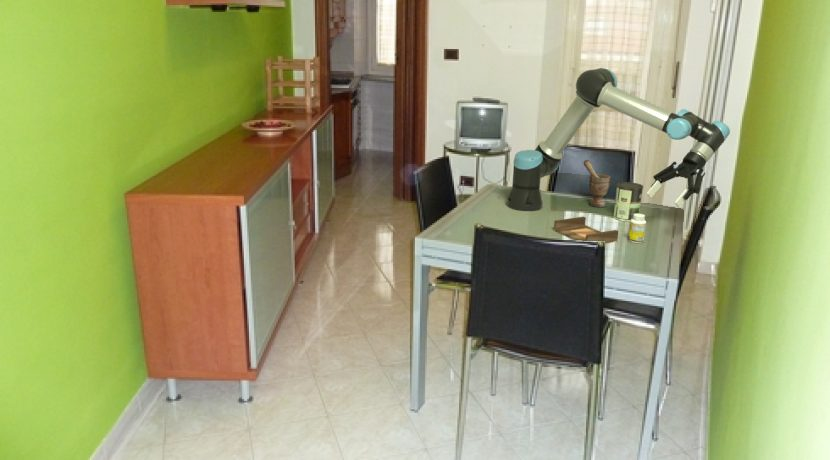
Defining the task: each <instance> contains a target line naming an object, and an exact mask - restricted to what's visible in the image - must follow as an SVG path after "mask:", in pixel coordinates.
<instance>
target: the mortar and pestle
mask: <svg viewBox="0 0 830 460" xmlns="http://www.w3.org/2000/svg"><path fill="white" fill-rule="evenodd" d="M583 166H584V167H585V168H586V170H587V171H588V173H589V180H588V181H589V182H588V183H589V185H588V186H589V187H588V188H589V192H590V194H591V195H592V198H591V199H590V200H589V201H588V205H589V206H591V207H594V208H595V207H596V208H597V207H598V208H604V207H607V202H606V200H605V199H604V197H605V196H606V195H607V193H608V190H609V187H610V185H611V183H610V182H611V176H610V175H608V174H601V173H596V171H595V169H594V166H593V165H592V163H591V161H590V160H589V159H586V160H584V161H583Z"/></svg>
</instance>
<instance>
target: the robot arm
mask: <svg viewBox="0 0 830 460" xmlns="http://www.w3.org/2000/svg"><path fill="white" fill-rule="evenodd" d="M576 79H577V80H576V82H575V89H576V90H575V94H576V97H575V99H573V101H572V103H571V104H570V106H569V107H568V109H567V110H566V111H565V113H564V114H563V115H562V117H561V118H560V120H558V123H557V124H556V125H555V127H554V129H553V130H552V131H551V133H550V134H549V135H548V136H547V138H546V139H545V140H543V141H540V142H539V143H538V145H537V146H536V148H535V149H525V150H524V149H523V150H520V151H518V152H516V153H515V155H514V159H513V170H512V171H513V172H512V173H513V174H512V186H511V190H510V191H509V194H508V197H507V200H506V206H507V207H509V208H511V209H514V210H518V211H525V212H527V211H530V212H531V211H538V210H539V211H540V210H541V209H542V208H543V202H544V201H543V198H542V194H541V189H540V187H541V180H542V179H541V178H544V177H547V176H550V175H552V174H553V173H555V172H556V171H557V169H558V168H559V167H560V161H561V160H562V158H563V153H562V152H563V151H564V150H565V149H566V147H567V146H568V144H569V143H570V142H571V141H572V139H573V138H574V136H575V135H576V134H577V132H578V130H579V129H580V128H581V127H582V125H583V124H584V123H585V121H586V120H587V119H588V117H589V116H590V115H591V113H592V112H593V111H594V109H597V108H600V107H601V106H602V105H603V106H606V107H608V108H610V109H613V110H615V111H617V112H619V113H621V114H624V115H626V116H628V117H629V118H632V119H635V120H637V121H638V122H641V123H644V124H645V125H648V126H650V127H652V128H654V129H657V131H658V130H659V131H661V132H663V133H664V134H667V135H668V137H669V138H670V139H672V140H675V141H676V140H683V139H686V138H688V137H691V138H692V139H695V140H696V142H695V144H694V145H693V146H692V147H691V149H689V151H688V152H687V154H686V155H685V156H684V157H683V158H682V162H681V163H677V161H673V162H672V163H671V164H670V165H669V166H667V167H665V168H664V169H662V170H661V171H660V172H657V173H656V174H654V175H653V177H652V178H653V179H654V182H653V183H652V184H651V186H650V188H649V189H648V191H647V192H646V194H647V196H648V197H649V199H651V198H652V197H654V196H655V194H656V193H657V191H658V190H659V189H660V188H661V187H662V184H663V183H666V182H668V181H670V180H673V179H675V178H679V177H680V178H684V179H687V188H685V189H684V190H683V192H682V193H681V194H680V195H679V196H678V198H677V199H676V200H675V202H674V204H675V205H676V207H677V208H680V207H681V206H682V205H683V203H685V201H688V199H690V197H691V196H692V195H694V194H696V195H699V194H700V191H701V186H702V183H703V178H704V177H705V175H706V172H705V170H704V169H703V168H704V167H705V165H706V164H707V163H708V162H709V160H710V159H711V158H712V157H713V155H715V153H716V152H717V151H718V150H719V148H720V147H721V146H722V145H723V144H724V142H725V141H726V140H727V138H728V137H729V135H730V133H731V131H730V127H729V126H728V125H727V124H726V123H724V122H723V121H719V120H715V121H714V120H713V122H711V123H710V122H708V121H706V120H704V119H703V118H701V117H700V116H698V115H696V114H694V113H693V112H692V111H689V110H687V109H685V108H683V109H680V110H679V111H678V112H677V113H674V112H672V111H669V109H665V108H663V107H661V106H659V105H656V104H654V103H652V102H650V101H647V100H645V99H643V98H641V97H639V96H635V95H633V94H632V93H629V92H627V91H626V90H625V91H624V90H623V89H620V88H618V87H617V86H618V80H617V77H616V74H614V72H613V71H612V70H610V69H607V68H604V67H599V68H596V69H595V68H594V69H589V70H585V71H583V72H582V73H580V75H579V76H578V77H577V78H576ZM695 175H696V176H695ZM694 176H695V181H694Z"/></svg>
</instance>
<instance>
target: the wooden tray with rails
mask: <svg viewBox="0 0 830 460" xmlns="http://www.w3.org/2000/svg"><path fill="white" fill-rule="evenodd" d="M586 220H587V219H586V217H585V216H577V217H572V218H571V217H570V218H564V219H556V220H554V222H553V232H556V233H558V234H561V235H562V236H565V237H566V238H569V239H571V240H573V241H575V240H582V241H605V244H609V243H614V242H615V241H616V242H618V238H619V230H617V229H613V230H607V231H600V230H598V229H596V228H593V227H591V226H589V225H586Z"/></svg>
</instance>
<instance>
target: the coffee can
mask: <svg viewBox="0 0 830 460" xmlns="http://www.w3.org/2000/svg"><path fill="white" fill-rule="evenodd" d="M643 190H644V185H643V184H640V183H637V182H630V181H623V182H621V181H620V182H618V183H616V190H615V199H614V209H613V210H614V211H613V216H612V218H613V219H615V220H616V221H621V222H626V223H627V222H628V223H629V222H630V221H631V219H633V216H634V214H641V213H640V211H641V203H642V196H643Z"/></svg>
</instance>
